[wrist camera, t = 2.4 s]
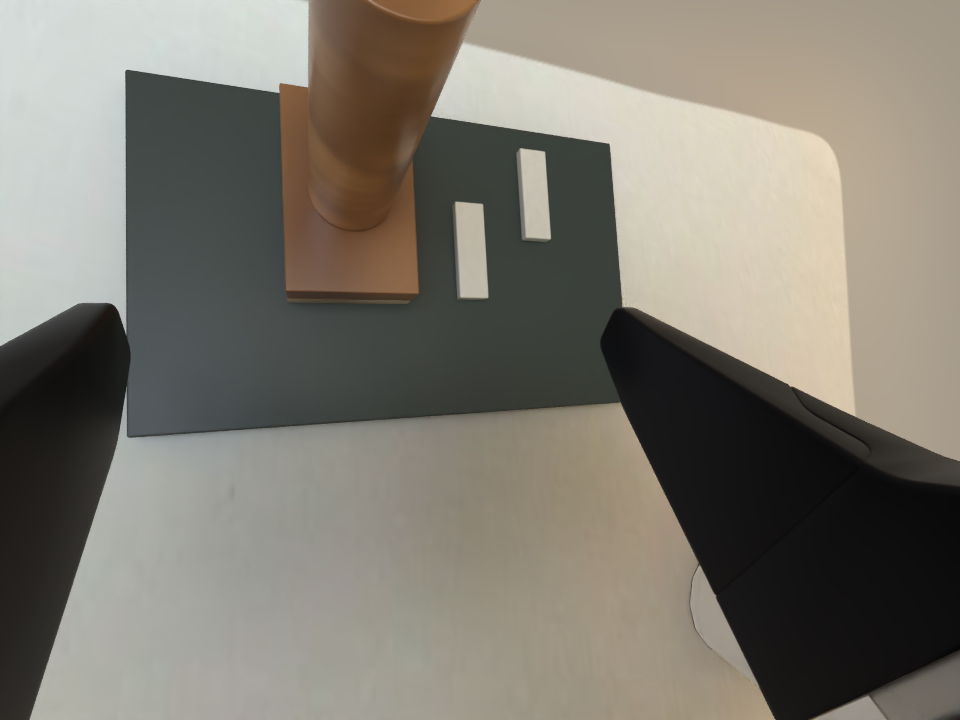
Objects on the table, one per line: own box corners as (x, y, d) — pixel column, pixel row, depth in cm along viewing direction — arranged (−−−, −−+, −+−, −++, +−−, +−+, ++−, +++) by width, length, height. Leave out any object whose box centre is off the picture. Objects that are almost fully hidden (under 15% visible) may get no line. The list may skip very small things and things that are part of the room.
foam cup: (755, 481, 28) (1090, 540, 16) (812, 614, 29) (1175, 765, 17) (641, 573, 25) (955, 732, 13) (709, 720, 26) (1067, 1002, 14)
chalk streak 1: (480, 207, 23) (483, 203, 22) (485, 300, 22) (489, 298, 22) (451, 205, 22) (454, 200, 22) (456, 299, 22) (460, 297, 21)
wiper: (400, 131, 22) (521, -218, 9) (408, 304, 21) (547, 170, 9) (282, 115, 20) (242, -339, 8) (287, 303, 19) (254, 133, 7)
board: (599, 152, 27) (610, 143, 26) (618, 401, 26) (630, 401, 25) (133, 84, 19) (124, 68, 18) (135, 436, 18) (126, 438, 17)
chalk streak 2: (540, 156, 24) (545, 151, 24) (546, 242, 24) (551, 239, 23) (515, 152, 24) (520, 147, 23) (521, 240, 23) (526, 237, 23)
